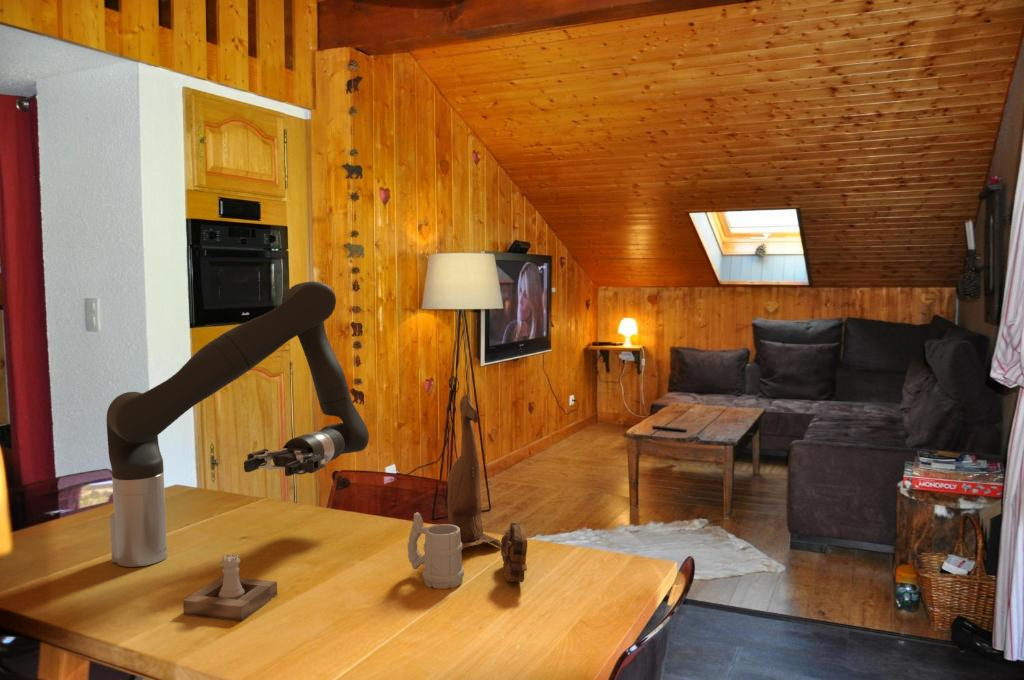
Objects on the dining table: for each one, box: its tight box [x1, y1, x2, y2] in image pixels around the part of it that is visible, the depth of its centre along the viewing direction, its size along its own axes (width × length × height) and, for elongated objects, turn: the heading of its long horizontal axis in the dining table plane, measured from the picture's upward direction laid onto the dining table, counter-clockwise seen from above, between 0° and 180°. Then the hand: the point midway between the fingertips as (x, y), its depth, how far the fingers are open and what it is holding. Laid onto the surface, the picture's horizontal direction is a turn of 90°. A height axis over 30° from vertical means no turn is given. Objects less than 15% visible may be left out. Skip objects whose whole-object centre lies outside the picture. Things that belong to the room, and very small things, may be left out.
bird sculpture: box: [447, 394, 501, 552], centre depth 166 cm, size 11×12×32 cm
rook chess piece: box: [219, 553, 245, 600], centre depth 139 cm, size 4×4×8 cm
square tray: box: [182, 575, 278, 622], centre depth 139 cm, size 11×11×2 cm
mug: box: [407, 511, 465, 590], centre depth 150 cm, size 8×12×12 cm, turn 59°
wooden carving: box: [500, 522, 528, 583], centre depth 150 cm, size 16×5×10 cm, turn 12°
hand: (266, 468), depth 152 cm, fingers open, 8 cm apart
